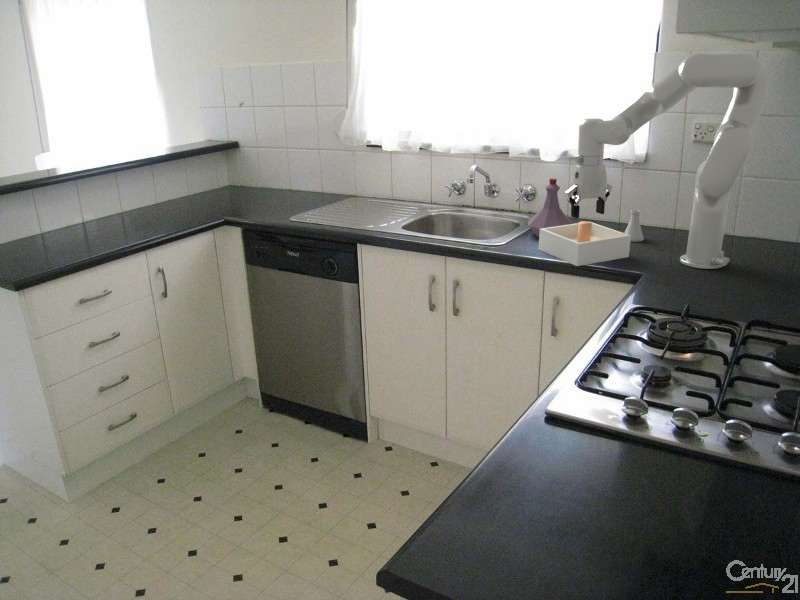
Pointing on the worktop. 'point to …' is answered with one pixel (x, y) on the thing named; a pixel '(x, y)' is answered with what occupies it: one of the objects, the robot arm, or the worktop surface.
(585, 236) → the peg
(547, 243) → the box
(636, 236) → the flask
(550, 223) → the flask
